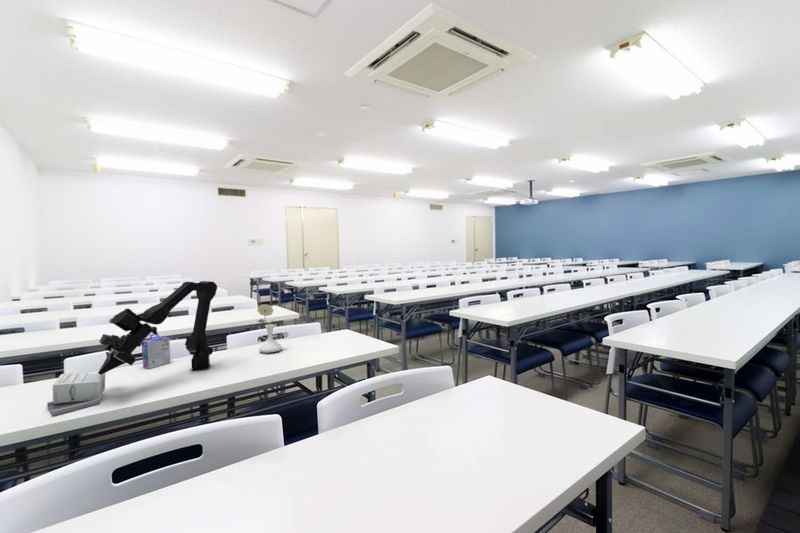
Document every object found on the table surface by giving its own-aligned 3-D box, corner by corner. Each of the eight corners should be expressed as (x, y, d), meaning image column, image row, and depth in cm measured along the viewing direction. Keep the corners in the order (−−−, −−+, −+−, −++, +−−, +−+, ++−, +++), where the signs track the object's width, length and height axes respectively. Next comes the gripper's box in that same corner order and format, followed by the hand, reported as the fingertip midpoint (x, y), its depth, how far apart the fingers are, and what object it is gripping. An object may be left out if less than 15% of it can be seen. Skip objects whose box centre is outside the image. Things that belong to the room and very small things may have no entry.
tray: (93, 395, 130) (92, 391, 130) (100, 403, 123) (100, 399, 123) (47, 407, 120) (47, 402, 120) (52, 416, 113) (52, 411, 113)
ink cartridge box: (164, 361, 169) (163, 331, 168) (171, 362, 166) (170, 332, 166) (141, 367, 160) (140, 336, 159) (148, 369, 158) (147, 337, 157)
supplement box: (99, 400, 125) (52, 404, 119) (105, 388, 132) (60, 392, 126) (100, 381, 124) (51, 385, 118) (105, 370, 130) (60, 373, 124)
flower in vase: (286, 349, 189) (285, 303, 187) (273, 355, 178) (272, 306, 176) (264, 347, 192) (263, 302, 190) (251, 353, 181) (250, 305, 179)
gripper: (109, 322, 136) (72, 357, 128) (123, 329, 124) (83, 368, 116) (134, 338, 142) (100, 372, 134) (150, 346, 131) (114, 384, 123)
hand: (99, 373), depth 127 cm, fingers closed
